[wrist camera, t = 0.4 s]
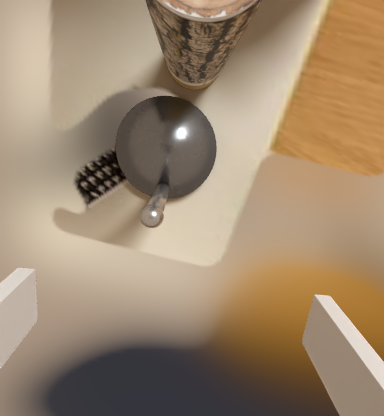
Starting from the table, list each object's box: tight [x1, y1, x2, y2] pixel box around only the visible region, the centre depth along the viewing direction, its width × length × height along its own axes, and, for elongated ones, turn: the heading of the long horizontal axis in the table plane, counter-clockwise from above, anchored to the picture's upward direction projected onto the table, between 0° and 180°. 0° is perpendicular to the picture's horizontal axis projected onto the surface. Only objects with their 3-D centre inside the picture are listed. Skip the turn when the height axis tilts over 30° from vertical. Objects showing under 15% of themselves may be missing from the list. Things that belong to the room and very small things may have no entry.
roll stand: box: [116, 96, 216, 228], centre depth 32 cm, size 13×13×14 cm
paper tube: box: [146, 0, 262, 89], centre depth 24 cm, size 7×7×25 cm
